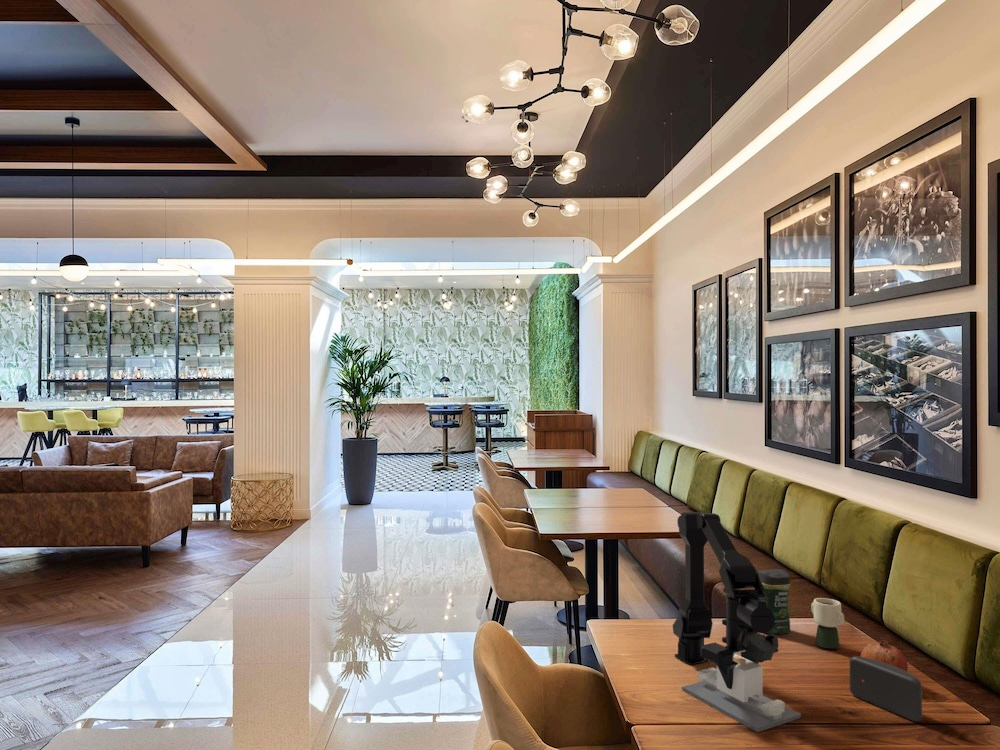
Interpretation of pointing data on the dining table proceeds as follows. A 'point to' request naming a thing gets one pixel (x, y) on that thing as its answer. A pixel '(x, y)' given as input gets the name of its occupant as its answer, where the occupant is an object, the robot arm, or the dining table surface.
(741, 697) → the block
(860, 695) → the dark grey smartphone
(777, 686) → the dining table surface
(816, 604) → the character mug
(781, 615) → the coffee jar
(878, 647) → the fruit
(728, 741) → the dining table surface
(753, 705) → the DIN rail
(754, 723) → the mounting plate
